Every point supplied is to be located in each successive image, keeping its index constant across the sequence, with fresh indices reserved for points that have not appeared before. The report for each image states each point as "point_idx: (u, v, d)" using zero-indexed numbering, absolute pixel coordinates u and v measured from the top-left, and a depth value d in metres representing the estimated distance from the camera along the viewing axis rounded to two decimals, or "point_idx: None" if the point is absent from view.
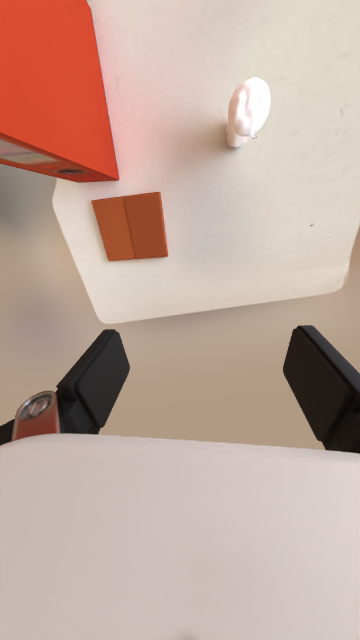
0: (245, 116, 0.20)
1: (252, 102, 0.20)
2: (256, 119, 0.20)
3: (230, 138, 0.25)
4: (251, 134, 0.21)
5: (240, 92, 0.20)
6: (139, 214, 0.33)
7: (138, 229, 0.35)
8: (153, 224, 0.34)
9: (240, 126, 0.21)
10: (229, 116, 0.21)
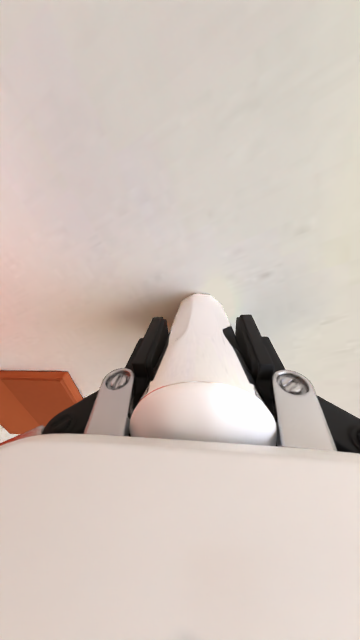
0: None
1: None
2: None
3: None
4: None
5: None
6: (37, 400, 0.19)
7: (41, 414, 0.20)
8: None
9: None
10: None
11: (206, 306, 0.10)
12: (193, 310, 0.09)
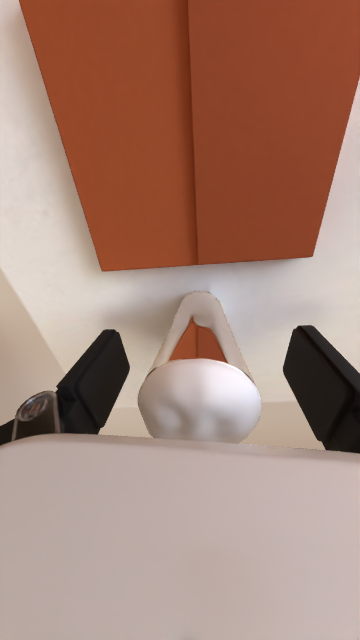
0: None
1: (203, 432, 0.06)
2: None
3: None
4: None
5: (160, 408, 0.06)
6: (252, 51, 0.07)
7: (227, 140, 0.08)
8: (306, 108, 0.07)
9: None
10: None
11: (205, 302, 0.11)
12: (192, 305, 0.10)
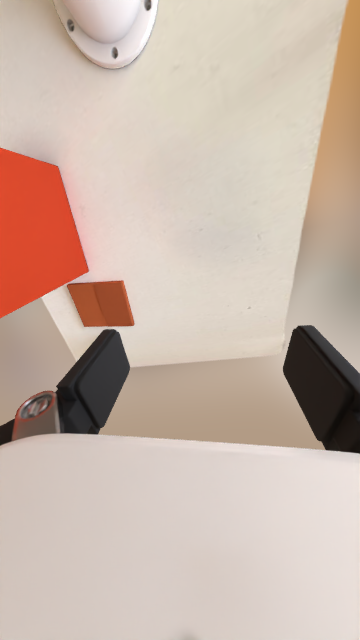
0: None
1: None
2: None
3: None
4: None
5: None
6: (107, 296, 0.40)
7: (107, 306, 0.41)
8: (119, 303, 0.41)
9: None
10: None
11: None
12: None
